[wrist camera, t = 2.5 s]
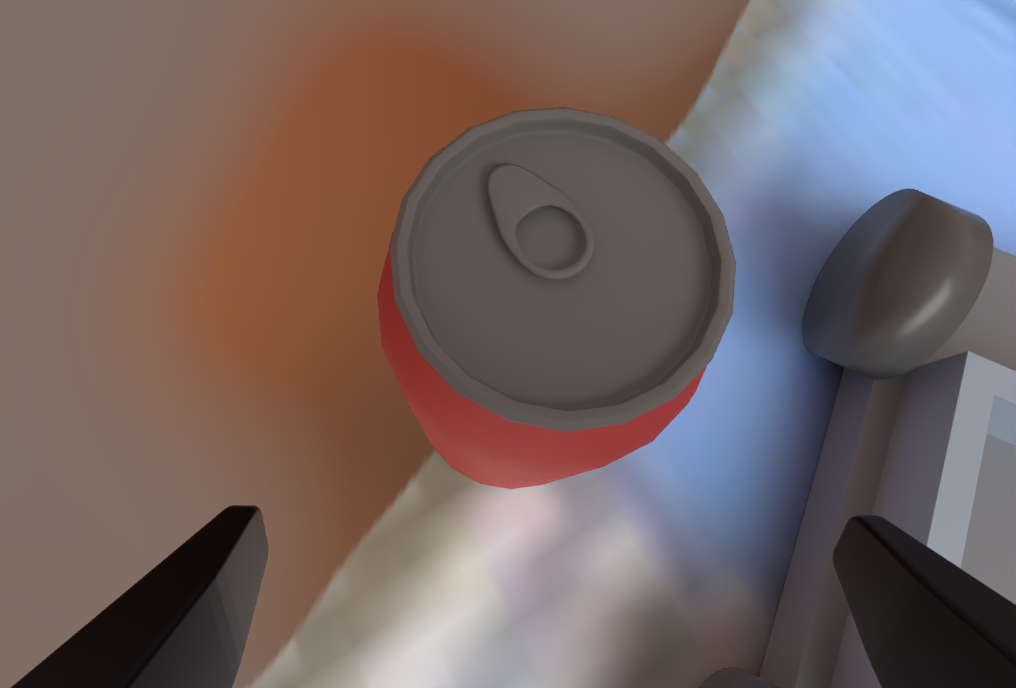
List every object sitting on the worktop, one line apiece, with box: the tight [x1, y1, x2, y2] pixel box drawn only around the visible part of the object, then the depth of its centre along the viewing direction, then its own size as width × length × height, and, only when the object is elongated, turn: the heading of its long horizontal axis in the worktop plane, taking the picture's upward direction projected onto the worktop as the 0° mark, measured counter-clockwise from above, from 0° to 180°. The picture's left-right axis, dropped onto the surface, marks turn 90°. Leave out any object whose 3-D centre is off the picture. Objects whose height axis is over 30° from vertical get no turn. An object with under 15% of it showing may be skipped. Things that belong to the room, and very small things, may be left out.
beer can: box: [377, 107, 736, 489], centre depth 15 cm, size 7×7×12 cm
